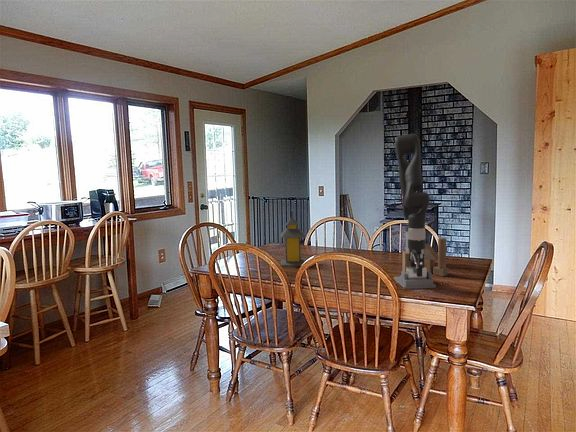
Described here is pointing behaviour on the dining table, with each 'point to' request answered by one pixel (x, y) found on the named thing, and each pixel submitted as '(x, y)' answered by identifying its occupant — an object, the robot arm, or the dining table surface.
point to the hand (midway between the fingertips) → (416, 274)
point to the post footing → (413, 282)
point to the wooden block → (436, 258)
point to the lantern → (292, 243)
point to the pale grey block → (415, 273)
